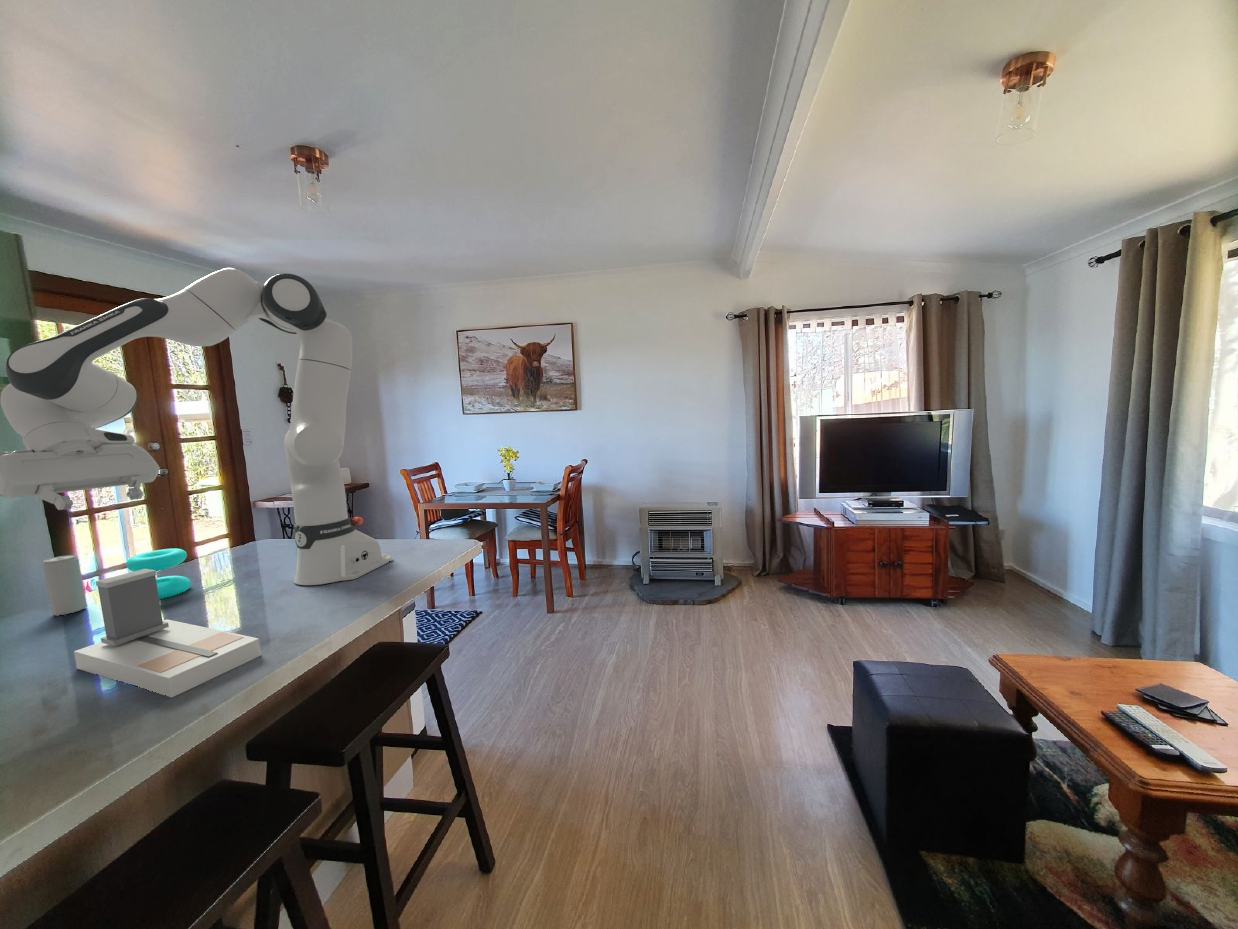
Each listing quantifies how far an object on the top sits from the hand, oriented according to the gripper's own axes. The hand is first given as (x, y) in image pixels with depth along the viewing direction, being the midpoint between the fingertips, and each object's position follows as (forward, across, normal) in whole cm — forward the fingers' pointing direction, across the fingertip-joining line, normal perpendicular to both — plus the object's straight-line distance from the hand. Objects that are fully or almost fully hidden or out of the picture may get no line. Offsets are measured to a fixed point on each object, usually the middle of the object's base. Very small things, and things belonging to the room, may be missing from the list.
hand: (103, 501), depth 85 cm
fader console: (+34, -4, +2) cm, 34 cm away
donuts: (+6, +14, +31) cm, 35 cm away
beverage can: (0, +2, +37) cm, 37 cm away
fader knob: (+25, -4, +6) cm, 26 cm away
